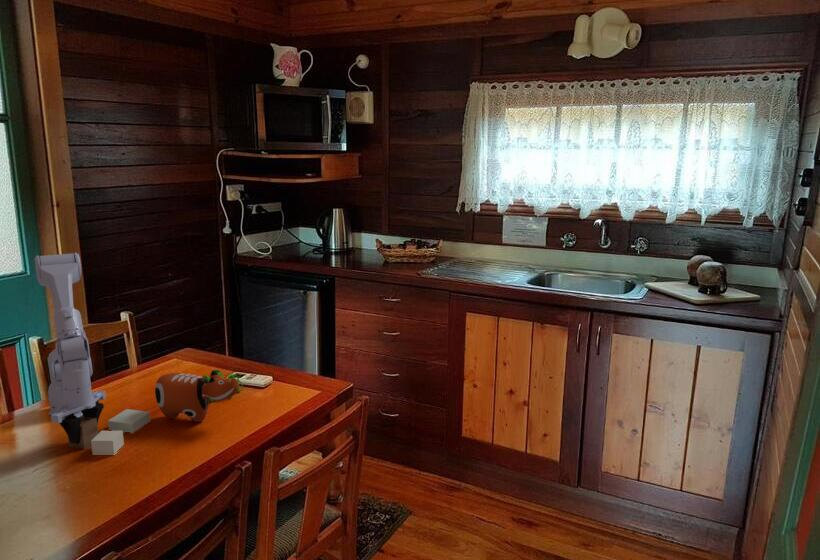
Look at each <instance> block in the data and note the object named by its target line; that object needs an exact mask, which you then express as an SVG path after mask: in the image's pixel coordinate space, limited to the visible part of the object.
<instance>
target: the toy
mask: <svg viewBox="0 0 820 560" xmlns="http://www.w3.org/2000/svg"><path fill="white" fill-rule="evenodd" d="M214 370H215V369H212V370H211V371H210V376H209V378H210V380H209V382H208V381H207V380H206V378H205V376H204V377H203V376H200V375H199V374H198V375H196V374H192V373H181V372H171V373H170V372H169V373H165V374H162V375H161V376H160V377H158V379H157V381H156V384H155V388H154V392H155V393H154V394H155V400H156V404H157V406H158V408H159V410H160V412H161V413H162V415H164V416H165V417H166V418H167V419H176V418H178V416H179V415H180V414H183V415H186V416H187V417H188V418H189V419H191V421H192V422H195V423H200V422H203V421H204V420H205V419H206V416H207V413H208V409H209V405H210V404H209V403H210V400H209V398H211V399H213V401H217V402H222V401H223V402H224V401H226V400H228V399H229V398H230V397H233V396H235V395H236V393H238V392H237V391H238V388H239V389H240V383H239V382H238V381H237V380H236V379H237V378H236V377H235V378H236V379H235V378H228V377H226V378H225V376H224V377H221V376H220V375H219V374H218V373H217V372H216V371H214ZM238 383H239V384H238ZM230 399H231V398H230ZM230 399H229V400H230Z"/></svg>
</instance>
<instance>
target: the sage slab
mask: <svg viewBox="0 0 820 560" xmlns="http://www.w3.org/2000/svg"><path fill="white" fill-rule="evenodd" d="M148 422H149V423H150V422H152V421H151V412H150V411H145V410H136V409H128V408H125V409H124V410H122V412H119V413H117V415H115V416H114V417H111V418H110V419H108V420H107V424H108V431H109V430H112V431H123V433H125V432H130V433H129V434H134V433H133V432H135V431H136V430H137V431H139V430H140V429H142V428H143V427H145V426H146V425H148V424H149V423H148ZM145 424H146V425H145ZM144 425H145V426H144ZM142 426H143V427H142ZM141 427H142V428H141ZM139 428H140V429H139ZM138 429H139V430H138ZM137 431H136V432H137ZM136 432H135V433H136Z"/></svg>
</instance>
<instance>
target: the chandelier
mask: <svg viewBox="0 0 820 560" xmlns="http://www.w3.org/2000/svg"><path fill="white" fill-rule="evenodd" d="M213 370H214V371H216V372H217V373H218V374H219V375H220V376H221V377H224V378H225V376H224V375H223V373H222V372H221V371H220V370H219V369H213ZM202 377H204V378H206V380H207V381H208V382H209V380H210V376H208V374H207V375H206V374H205V375H203V376H202ZM227 378H235V379H236V380H237V381H238V384H239V385H240V384H241V389H240V387H239V388H238V391H237V392H236V393H240V392H242V390H243V388H244V387H243V386H244V385H243V382H242V381H241V380H240V379H239V376H238V375H236V374H233V373H232V374H230V375H229V376H228V377H227ZM232 397H233V396H232ZM232 397H230V398H229V400H230V399H232ZM209 401H210V402H211V403H214V400H213V399H211V398H209Z"/></svg>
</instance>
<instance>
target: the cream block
mask: <svg viewBox="0 0 820 560" xmlns="http://www.w3.org/2000/svg"><path fill="white" fill-rule="evenodd" d="M91 444H92V445H91V453H92V456H93V455H115V454H116V455H117V454H118V452H119V451H120V450H121V449H122V448H123V447H124V446H125V441H124V432H123V431H109V430H100V432H98V435H97V436H96V437H94V438H93V439H92V440H91ZM123 445H124V446H123ZM122 446H123V447H122ZM121 447H122V448H121ZM120 448H121V449H120ZM119 449H120V450H119ZM118 450H119V451H118ZM117 451H118V452H117ZM116 455H115V456H116Z"/></svg>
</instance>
